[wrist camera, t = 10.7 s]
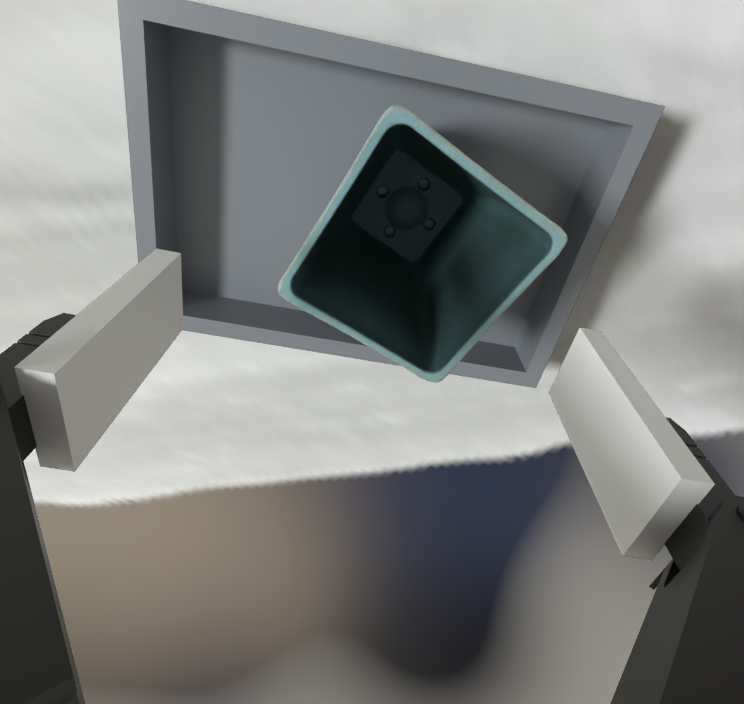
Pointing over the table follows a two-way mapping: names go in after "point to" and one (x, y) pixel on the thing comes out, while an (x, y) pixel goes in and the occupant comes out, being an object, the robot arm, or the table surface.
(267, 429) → the table surface
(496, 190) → the flower pot
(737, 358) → the table surface
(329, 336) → the tray
